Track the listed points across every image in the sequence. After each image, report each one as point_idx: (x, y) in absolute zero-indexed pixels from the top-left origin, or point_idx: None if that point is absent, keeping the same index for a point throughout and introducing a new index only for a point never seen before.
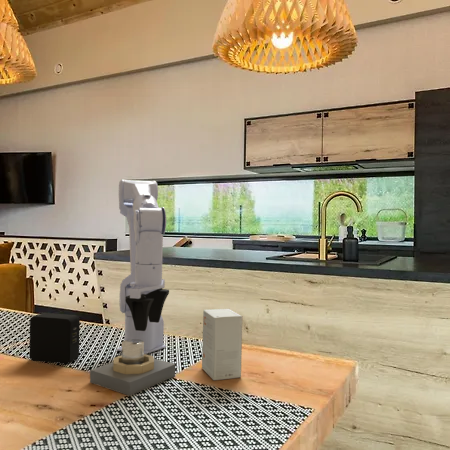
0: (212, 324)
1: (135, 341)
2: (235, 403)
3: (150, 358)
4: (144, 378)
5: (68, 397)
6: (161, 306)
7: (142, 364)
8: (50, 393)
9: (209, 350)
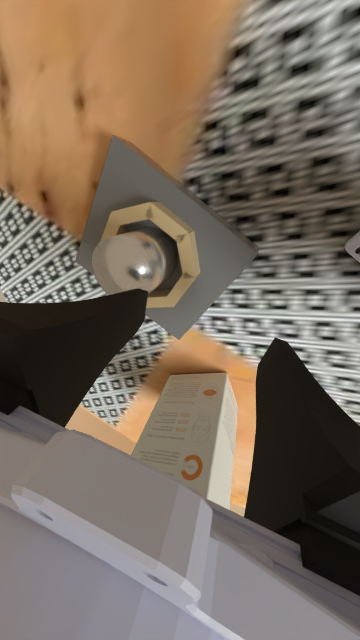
0: None
1: (129, 279)
2: (107, 378)
3: (158, 300)
4: None
5: (50, 122)
6: (256, 433)
7: None
8: (50, 47)
9: (173, 408)
